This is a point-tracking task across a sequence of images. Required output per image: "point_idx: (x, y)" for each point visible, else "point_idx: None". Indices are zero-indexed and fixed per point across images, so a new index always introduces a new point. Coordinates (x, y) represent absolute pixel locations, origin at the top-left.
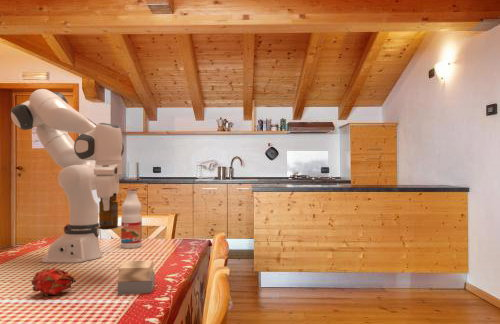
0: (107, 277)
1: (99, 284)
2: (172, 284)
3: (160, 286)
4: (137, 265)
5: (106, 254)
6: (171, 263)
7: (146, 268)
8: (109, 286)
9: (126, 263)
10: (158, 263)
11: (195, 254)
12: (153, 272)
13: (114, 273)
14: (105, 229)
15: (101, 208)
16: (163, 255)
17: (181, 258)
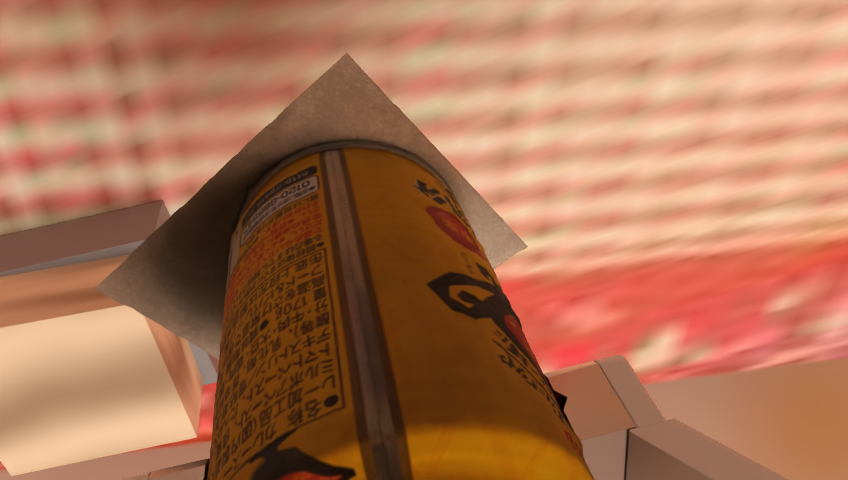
0: (303, 43)
1: (130, 56)
2: (211, 411)
3: None
4: (38, 409)
5: None
6: (608, 301)
7: (5, 461)
8: (104, 139)
9: (69, 336)
10: (622, 238)
11: (775, 354)
12: (207, 379)
13: (405, 54)
14: (123, 304)
15: (225, 418)
16: (816, 208)
17: (708, 317)
